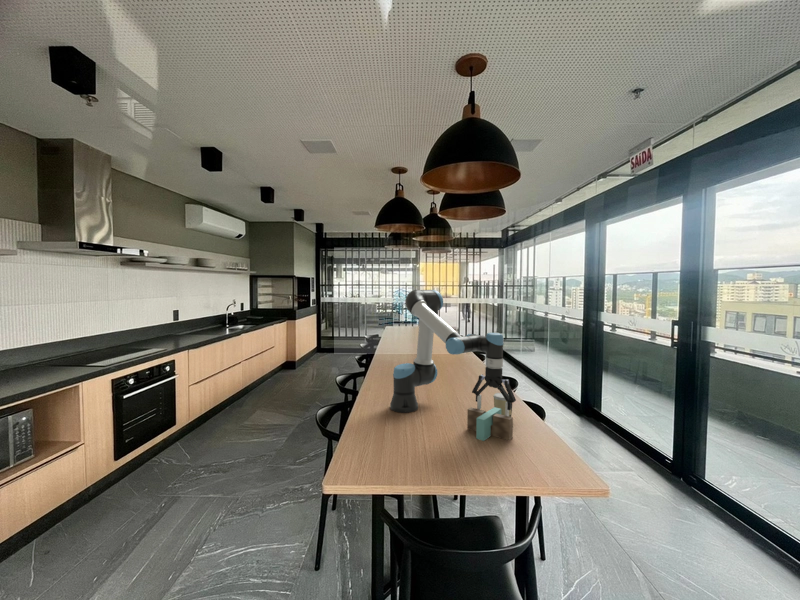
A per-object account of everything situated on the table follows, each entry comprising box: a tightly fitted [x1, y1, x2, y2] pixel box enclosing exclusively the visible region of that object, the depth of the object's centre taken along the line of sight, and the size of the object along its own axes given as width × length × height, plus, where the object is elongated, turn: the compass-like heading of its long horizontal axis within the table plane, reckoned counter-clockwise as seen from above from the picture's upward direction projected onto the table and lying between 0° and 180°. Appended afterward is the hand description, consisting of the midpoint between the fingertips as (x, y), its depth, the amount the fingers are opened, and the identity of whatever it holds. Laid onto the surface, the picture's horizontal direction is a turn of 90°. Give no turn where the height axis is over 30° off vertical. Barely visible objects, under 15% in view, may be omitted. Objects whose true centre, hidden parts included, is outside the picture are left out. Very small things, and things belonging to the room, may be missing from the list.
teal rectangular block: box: [475, 407, 501, 442], centre depth 152 cm, size 4×18×9 cm, turn 140°
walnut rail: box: [466, 407, 514, 441], centre depth 152 cm, size 20×4×9 cm, turn 50°
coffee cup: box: [492, 392, 513, 417], centre depth 169 cm, size 9×9×12 cm
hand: (492, 412), depth 156 cm, fingers open, 13 cm apart
